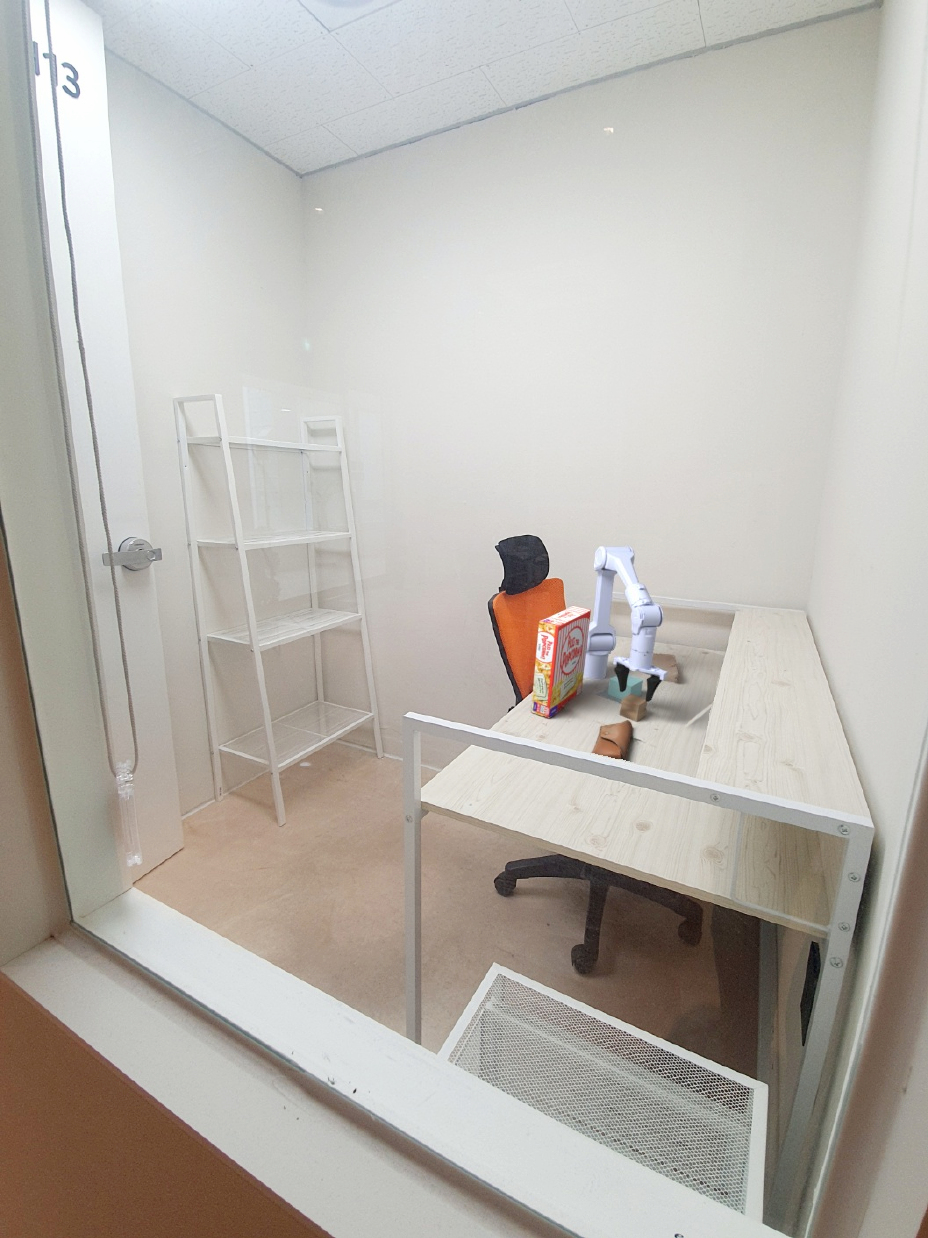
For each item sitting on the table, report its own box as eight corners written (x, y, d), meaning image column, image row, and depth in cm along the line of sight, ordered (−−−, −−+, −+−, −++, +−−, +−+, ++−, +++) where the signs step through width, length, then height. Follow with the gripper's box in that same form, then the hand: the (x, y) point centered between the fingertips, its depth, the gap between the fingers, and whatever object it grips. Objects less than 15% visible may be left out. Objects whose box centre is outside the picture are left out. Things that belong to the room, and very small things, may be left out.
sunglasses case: (599, 724, 144) (614, 707, 141) (620, 740, 143) (636, 724, 140) (588, 758, 128) (605, 741, 125) (612, 777, 127) (630, 760, 124)
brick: (677, 686, 169) (679, 673, 167) (649, 682, 171) (651, 669, 169) (673, 667, 184) (675, 654, 182) (647, 664, 186) (649, 651, 184)
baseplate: (595, 697, 159) (596, 694, 159) (616, 685, 167) (616, 682, 167) (632, 711, 151) (632, 708, 151) (652, 698, 159) (652, 695, 159)
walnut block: (619, 718, 147) (621, 699, 145) (628, 712, 151) (630, 693, 149) (635, 725, 144) (638, 705, 142) (644, 719, 147) (647, 699, 145)
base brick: (607, 694, 159) (609, 679, 157) (619, 687, 164) (621, 672, 162) (629, 702, 154) (631, 686, 153) (640, 695, 159) (643, 679, 158)
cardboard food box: (549, 719, 145) (558, 626, 137) (529, 712, 149) (536, 621, 140) (582, 694, 161) (591, 608, 152) (563, 688, 165) (571, 604, 156)
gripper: (609, 645, 143) (604, 691, 147) (661, 661, 133) (653, 709, 137) (623, 639, 148) (617, 683, 152) (673, 654, 138) (666, 701, 142)
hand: (635, 695), depth 145 cm, fingers open, 7 cm apart
